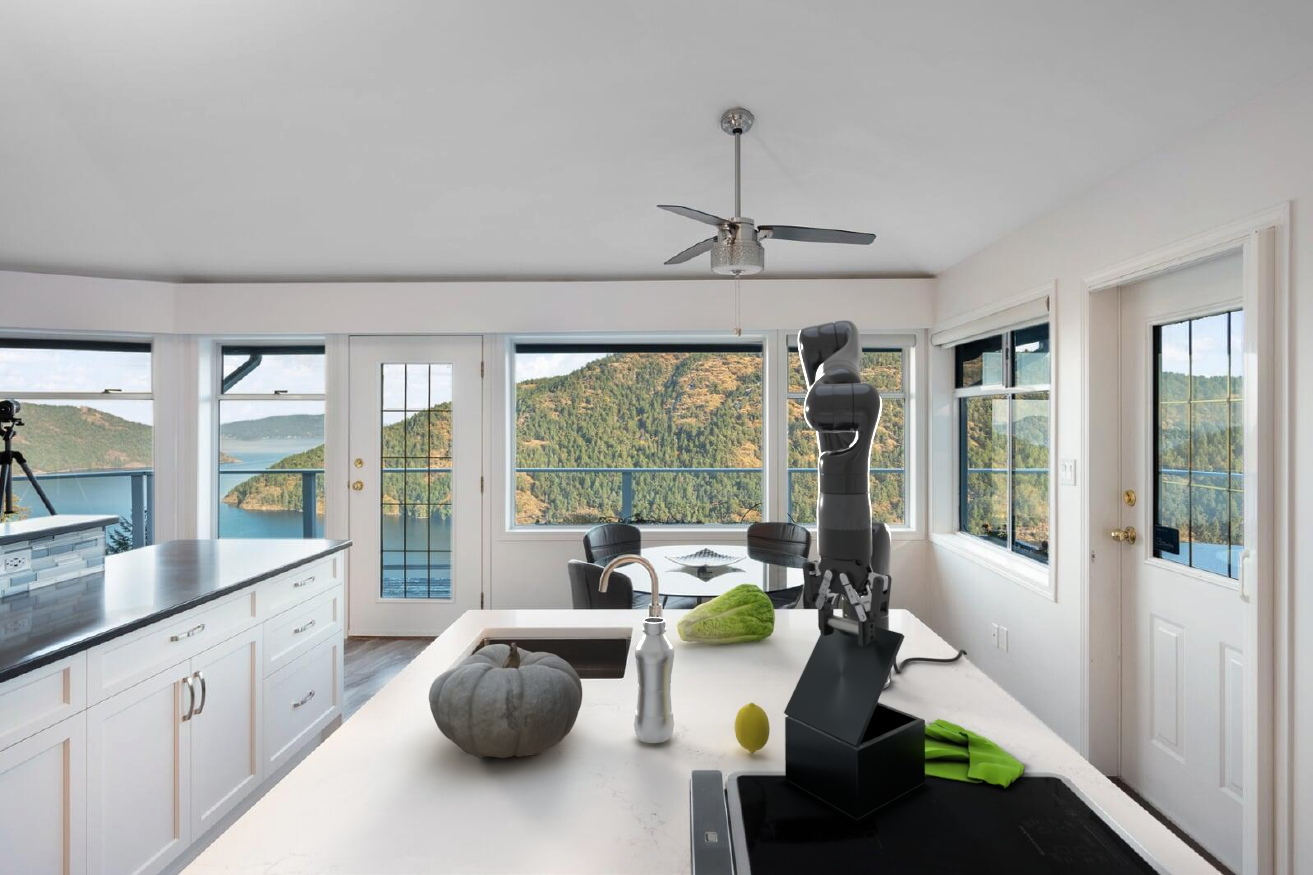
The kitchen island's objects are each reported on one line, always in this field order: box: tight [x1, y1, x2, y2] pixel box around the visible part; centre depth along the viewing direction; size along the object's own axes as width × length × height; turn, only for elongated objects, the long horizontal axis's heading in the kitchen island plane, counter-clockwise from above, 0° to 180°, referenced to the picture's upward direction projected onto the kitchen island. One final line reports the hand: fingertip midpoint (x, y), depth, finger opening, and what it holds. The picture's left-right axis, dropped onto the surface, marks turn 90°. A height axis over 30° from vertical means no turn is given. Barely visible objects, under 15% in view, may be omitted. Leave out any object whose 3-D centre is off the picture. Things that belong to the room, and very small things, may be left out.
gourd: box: [428, 642, 583, 759], centre depth 109 cm, size 25×25×17 cm
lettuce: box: [676, 583, 776, 645], centre depth 163 cm, size 14×24×14 cm
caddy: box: [784, 701, 926, 826], centre depth 95 cm, size 16×13×10 cm
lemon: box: [734, 702, 771, 754], centre depth 105 cm, size 6×6×8 cm
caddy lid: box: [783, 614, 905, 748], centre depth 93 cm, size 16×13×5 cm
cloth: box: [925, 718, 1026, 789], centre depth 106 cm, size 20×22×2 cm
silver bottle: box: [633, 616, 675, 744], centre depth 110 cm, size 6×7×20 cm
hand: (845, 639), depth 94 cm, fingers closed on caddy lid, 6 cm apart
